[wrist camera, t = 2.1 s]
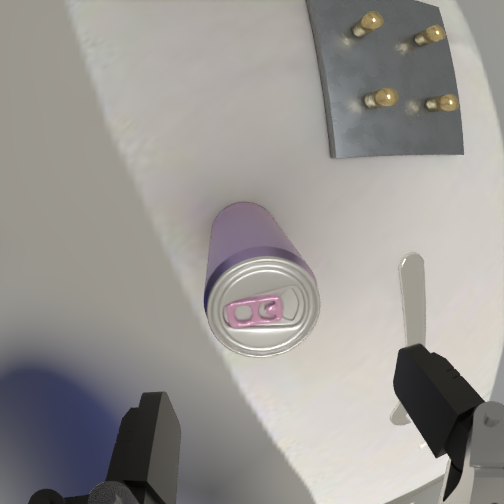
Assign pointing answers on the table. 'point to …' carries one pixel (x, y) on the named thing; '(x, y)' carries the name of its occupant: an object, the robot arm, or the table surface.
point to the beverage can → (257, 285)
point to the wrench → (411, 312)
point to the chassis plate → (386, 78)
